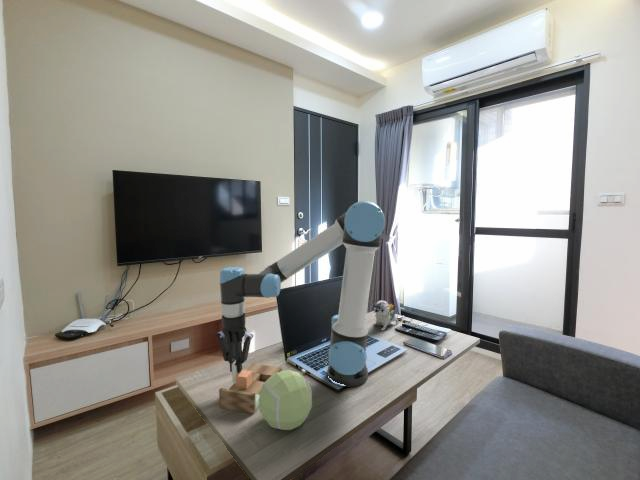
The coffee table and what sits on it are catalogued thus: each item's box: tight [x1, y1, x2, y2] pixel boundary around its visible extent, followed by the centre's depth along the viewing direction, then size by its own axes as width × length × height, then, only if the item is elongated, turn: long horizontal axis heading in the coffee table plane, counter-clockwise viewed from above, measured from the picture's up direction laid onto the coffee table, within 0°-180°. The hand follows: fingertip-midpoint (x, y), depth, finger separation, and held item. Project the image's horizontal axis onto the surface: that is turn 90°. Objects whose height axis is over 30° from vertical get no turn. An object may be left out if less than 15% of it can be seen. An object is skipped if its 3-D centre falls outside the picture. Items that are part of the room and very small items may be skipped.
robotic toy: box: [372, 300, 399, 331], centre depth 160 cm, size 13×17×15 cm
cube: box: [236, 369, 253, 389], centre depth 104 cm, size 4×4×4 cm
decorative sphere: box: [258, 369, 313, 431], centre depth 89 cm, size 15×15×15 cm
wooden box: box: [218, 363, 283, 415], centre depth 106 cm, size 12×22×6 cm, turn 165°
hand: (236, 380), depth 104 cm, fingers closed
